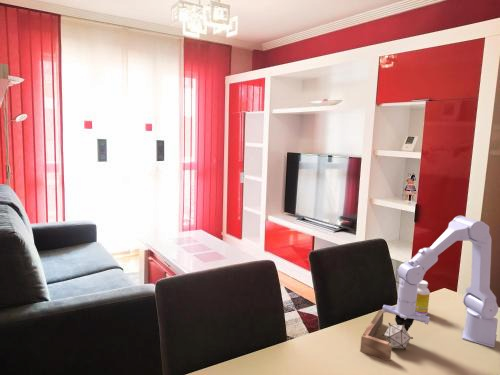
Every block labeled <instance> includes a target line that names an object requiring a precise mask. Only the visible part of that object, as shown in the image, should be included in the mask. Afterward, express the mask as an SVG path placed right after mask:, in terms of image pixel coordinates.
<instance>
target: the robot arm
mask: <svg viewBox="0 0 500 375" xmlns="http://www.w3.org/2000/svg"><path fill="white" fill-rule="evenodd" d="M457 241H459V242H460V241H461V242H463V241H470V242H471V246H472V247H471V249H472V250H471V273H470V274H471V275H470V276H471V278H470V286H468V287H466V288H465V294H464V295H463V298H462V303H463V305H464V306H465V310H466V315H465V316H466V317H465V324H464V328H463V330H462V335H461V336H462V337H461V339H462V340H466V341H468V342H469V341H470V342H473V343H476V344H480V345H483V346H487V347H490V348H495V345H496V344H495V343H496V341H497V336H498V335H497V332H498V331H497V330H498V318H496V316H497V314H498V312H499V305H498V303H497V296H496V295H495V294H494V293H493V290H491V288H490V285H491V266H492V261H491V260H492V236H491V234H490V226H489V225H488V224H487V223H485V222H484V221H481V220H476V219H473V218H470V217H466V216H465V215H457V216H455V217H454V218H453V219H452V220H451V221H450V222H448V226H447V228H446V229H445V231H444V232H442V234H441V235H440V236H439V237H438V238H437V239H436V240H435V241H434V242H433V243H432V245H431V246H429V247H423V248H420V249H419V250H418V251H417V253H416V254H415V255H414V256H413V257H412V258H410V259H409V260H408V261H407V262H406V261H405V262H403V263H401V264H400V265H399V267H398V269H396V275H397V276H398V282H399V285H398V291H397V302H396V306H392V305H387V304H383V306H382V309H381V310H382V312H384V313H388V314H391V315H394V316H395V318H394V320H395V322H396V325H403V323H404V324H405V325H404V327H405V329H406V331H407V332H408V331H409V330H410V328H411V327H412V325H413V323H414V322H415V321H416V322H421V323H424V324H425V325H429V324H430V318H431V317H430V316H427V315H422V314H420V313H418V312H415V308H416V298H417V290H418V283H420V282H421V281H422V280H423V279H424V276H425V275H426V272H427V271H428V270H429V269H431V267H432V266H434V265H435V264H436V263H437V262H438V260H439V257H438V256H439V255H441V253H443V252H444V251H445V250H447V249H448V248H449V247H450V246H452V245H453V244H454V243H456V242H457ZM384 313H383V314H384Z"/></svg>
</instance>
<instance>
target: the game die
mask: <svg viewBox="0 0 500 375" xmlns="http://www.w3.org/2000/svg"><path fill="white" fill-rule="evenodd" d="M388 325H389V326H388V327H387V329H386V331H385V332H384V334H383V333H382V334H381V337H382V336H384V338H385V341H387V342H389V343H391V344H392V349H403V350H404V351H407V349H406V347H407V346H408V343H409V342H410V341H411V339H414V337H412V336H410V334H409V332H408V331H406V329H405V327H404V325H405V324H404V323H403V325H397V324H391V322H388Z"/></svg>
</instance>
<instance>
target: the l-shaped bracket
mask: <svg viewBox="0 0 500 375" xmlns="http://www.w3.org/2000/svg"><path fill="white" fill-rule="evenodd" d="M383 321H384V312H382V309H379V310H378V312H376V314H375V316H374V317H373V319H372V320H371V321H370V323H369V324H368V326H367V327H366V329H365V330H364V332H363V333H362V335H361V340H360V349H359V352H361V353H365V354H367V355H370V356H373V357H376V358H378V359H379V358H380V359H382V360H385V361H388V362H390V361H391V358H392V349H393V348H392V344H391V343H389V342H387V340H383V339H379V338H377V337H376V335H377V333H378V332H379V330H380V328H381V326H382V325H383Z"/></svg>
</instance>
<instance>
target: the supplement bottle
mask: <svg viewBox="0 0 500 375" xmlns="http://www.w3.org/2000/svg"><path fill="white" fill-rule="evenodd" d="M428 286H429V283H428V281H427V280H422V281H421V282H420V283H418V290H417V298H416V308H415V312H418V313H420V314H422V315H425V316H427V314H428V311H429V301H430V294H431V292H430V290H429V288H428Z"/></svg>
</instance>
